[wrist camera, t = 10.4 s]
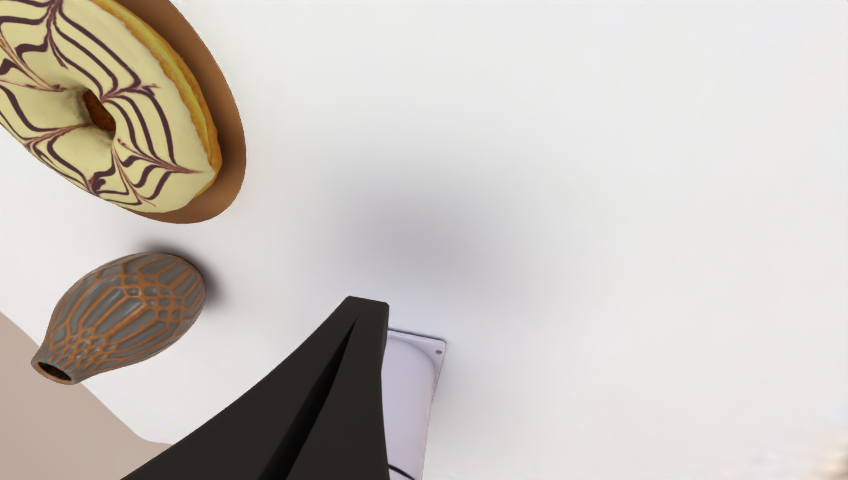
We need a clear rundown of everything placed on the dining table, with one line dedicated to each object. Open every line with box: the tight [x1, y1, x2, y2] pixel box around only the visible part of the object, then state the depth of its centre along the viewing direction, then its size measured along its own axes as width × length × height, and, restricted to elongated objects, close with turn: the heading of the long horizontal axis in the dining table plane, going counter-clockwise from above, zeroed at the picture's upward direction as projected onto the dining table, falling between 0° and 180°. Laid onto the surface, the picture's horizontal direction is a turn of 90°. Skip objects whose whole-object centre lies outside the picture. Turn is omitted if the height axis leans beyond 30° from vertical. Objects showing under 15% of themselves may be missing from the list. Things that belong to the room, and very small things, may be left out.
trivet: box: [114, 0, 246, 224], centre depth 17 cm, size 15×15×1 cm
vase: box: [31, 253, 206, 385], centre depth 21 cm, size 7×7×9 cm
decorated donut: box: [0, 0, 222, 213], centre depth 15 cm, size 10×11×4 cm
